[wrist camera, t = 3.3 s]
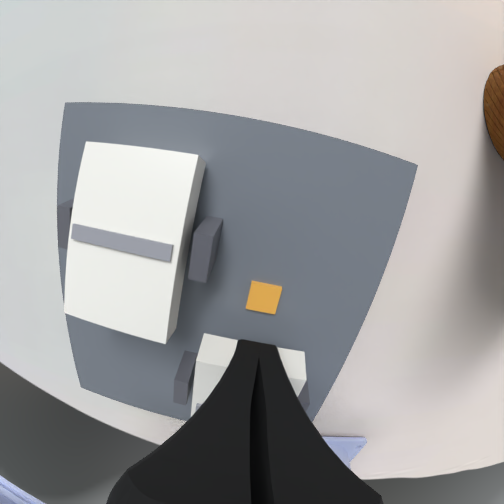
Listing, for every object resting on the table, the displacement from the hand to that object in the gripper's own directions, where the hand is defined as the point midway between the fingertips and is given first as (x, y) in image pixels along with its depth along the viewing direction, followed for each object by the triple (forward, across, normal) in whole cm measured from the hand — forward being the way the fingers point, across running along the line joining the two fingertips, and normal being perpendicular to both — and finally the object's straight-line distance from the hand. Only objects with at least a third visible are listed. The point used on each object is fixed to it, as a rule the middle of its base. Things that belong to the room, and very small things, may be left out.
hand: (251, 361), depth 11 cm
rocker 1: (+1, +5, -4) cm, 6 cm away
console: (+5, +2, 0) cm, 6 cm away
